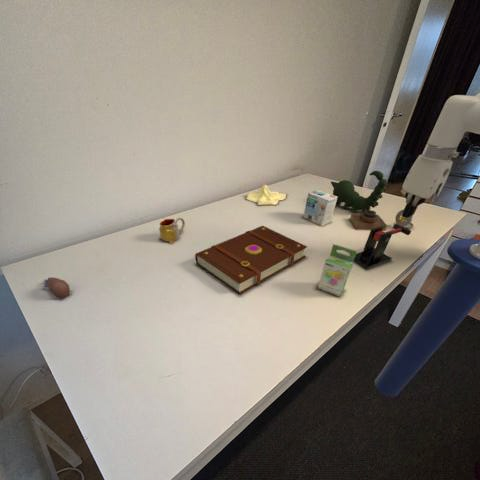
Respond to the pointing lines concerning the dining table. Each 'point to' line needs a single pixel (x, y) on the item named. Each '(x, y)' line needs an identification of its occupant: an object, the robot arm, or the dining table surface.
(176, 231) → the mug
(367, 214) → the button
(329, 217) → the light bulb box
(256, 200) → the cloth
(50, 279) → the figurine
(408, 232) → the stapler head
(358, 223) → the button block
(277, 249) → the book
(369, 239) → the black lever stand
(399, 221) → the pocket watch
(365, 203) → the toy figurine
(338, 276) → the ink box
